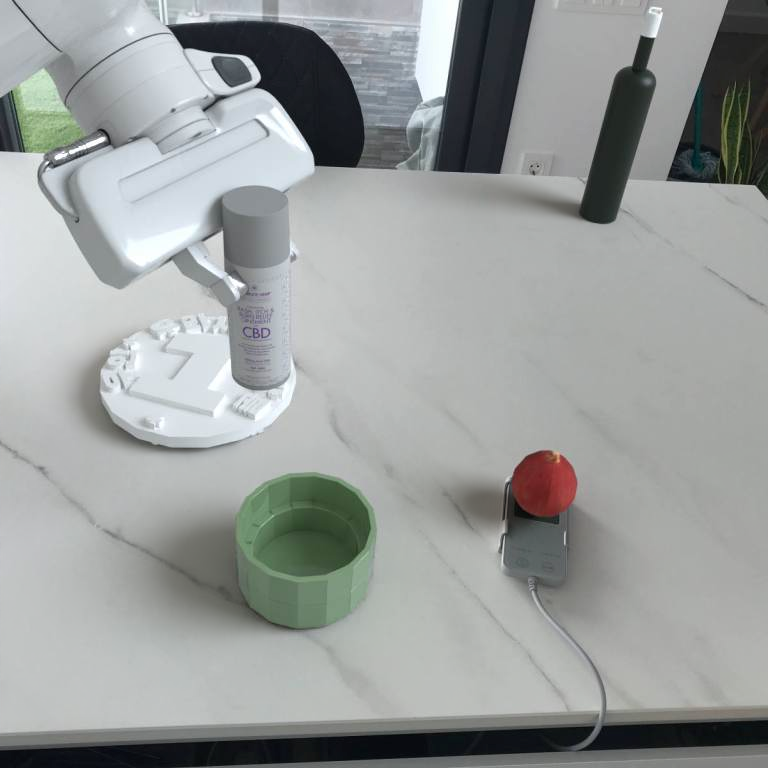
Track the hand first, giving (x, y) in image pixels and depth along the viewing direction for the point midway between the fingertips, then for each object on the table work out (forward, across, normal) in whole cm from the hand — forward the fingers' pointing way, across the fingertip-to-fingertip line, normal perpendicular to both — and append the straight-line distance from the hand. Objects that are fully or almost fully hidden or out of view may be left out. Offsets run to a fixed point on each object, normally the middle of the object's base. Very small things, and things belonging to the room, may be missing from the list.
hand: (265, 281), depth 56 cm
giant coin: (+6, +8, +28) cm, 30 cm away
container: (+6, 0, +7) cm, 9 cm away
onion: (+32, +13, +2) cm, 34 cm away
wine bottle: (+21, +76, +14) cm, 80 cm away
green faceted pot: (+22, -5, +12) cm, 25 cm away
